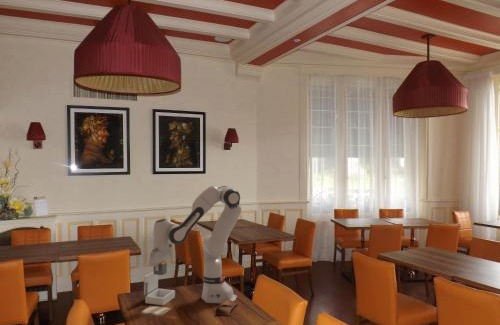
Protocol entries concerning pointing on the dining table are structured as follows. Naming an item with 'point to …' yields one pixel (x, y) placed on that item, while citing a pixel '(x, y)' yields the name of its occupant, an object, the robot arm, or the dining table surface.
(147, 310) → the birch board
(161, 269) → the block
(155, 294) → the case
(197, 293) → the dining table surface
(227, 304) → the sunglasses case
